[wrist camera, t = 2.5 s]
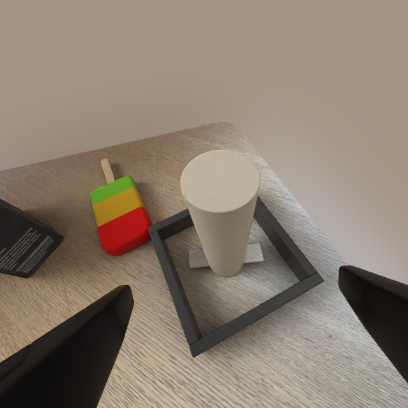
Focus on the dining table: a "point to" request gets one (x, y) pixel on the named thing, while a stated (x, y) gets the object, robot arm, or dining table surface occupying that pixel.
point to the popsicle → (120, 213)
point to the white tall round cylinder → (222, 210)
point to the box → (23, 241)
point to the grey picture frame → (199, 344)
